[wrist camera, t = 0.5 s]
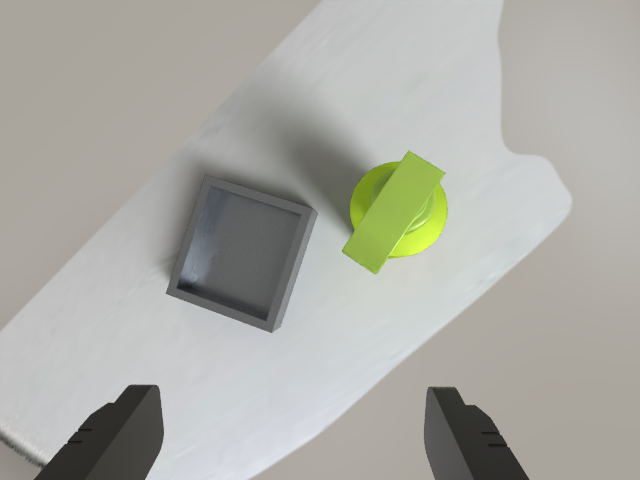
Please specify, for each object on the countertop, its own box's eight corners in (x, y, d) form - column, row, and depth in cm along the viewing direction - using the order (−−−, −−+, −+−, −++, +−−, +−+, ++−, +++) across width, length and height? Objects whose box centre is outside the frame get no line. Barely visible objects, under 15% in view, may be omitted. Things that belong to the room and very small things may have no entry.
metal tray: (219, 182, 39) (205, 174, 35) (317, 213, 37) (312, 208, 34) (183, 290, 38) (165, 293, 35) (280, 326, 37) (271, 332, 34)
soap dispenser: (338, 245, 37) (303, 226, 17) (379, 185, 37) (390, 95, 17) (390, 280, 36) (416, 302, 16) (431, 218, 36) (509, 165, 16)
